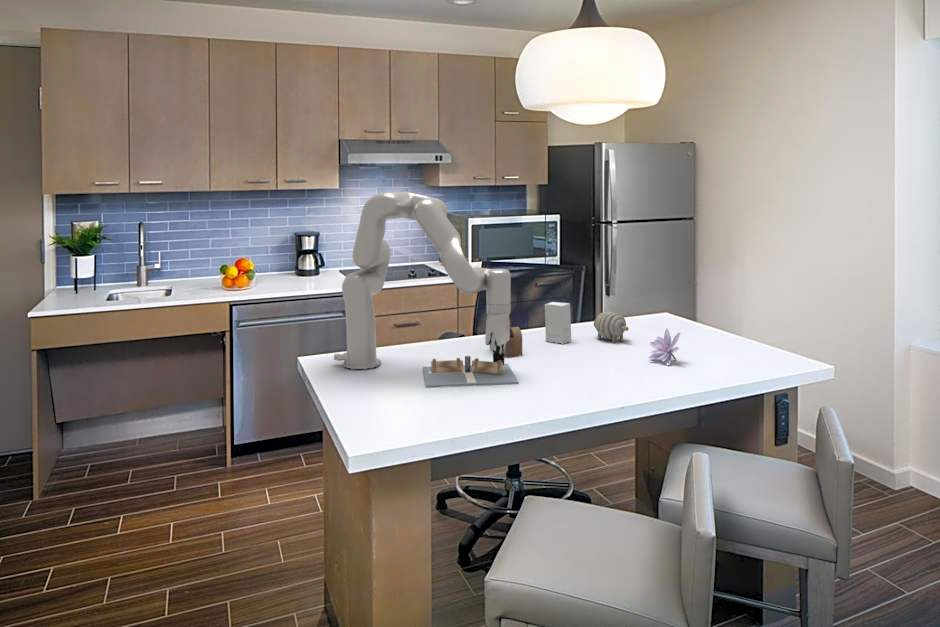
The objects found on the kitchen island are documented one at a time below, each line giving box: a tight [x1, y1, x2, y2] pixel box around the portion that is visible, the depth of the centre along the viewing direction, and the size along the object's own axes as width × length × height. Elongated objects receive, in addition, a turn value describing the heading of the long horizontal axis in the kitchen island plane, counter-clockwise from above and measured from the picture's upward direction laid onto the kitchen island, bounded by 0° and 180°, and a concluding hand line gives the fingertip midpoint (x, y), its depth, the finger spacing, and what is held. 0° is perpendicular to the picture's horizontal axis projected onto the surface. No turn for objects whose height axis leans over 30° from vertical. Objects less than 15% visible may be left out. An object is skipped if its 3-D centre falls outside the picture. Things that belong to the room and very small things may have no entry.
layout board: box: [422, 363, 520, 388], centre depth 226 cm, size 28×22×1 cm
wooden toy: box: [489, 318, 523, 358], centre depth 254 cm, size 16×7×25 cm, turn 24°
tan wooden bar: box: [471, 357, 503, 374], centre depth 226 cm, size 10×1×4 cm, turn 70°
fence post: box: [464, 355, 472, 372], centre depth 228 cm, size 2×2×6 cm
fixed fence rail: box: [430, 357, 464, 372], centre depth 228 cm, size 10×1×4 cm, turn 96°
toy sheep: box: [593, 311, 630, 343], centre depth 272 cm, size 11×17×11 cm, turn 39°
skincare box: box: [544, 301, 572, 345], centre depth 270 cm, size 8×6×15 cm
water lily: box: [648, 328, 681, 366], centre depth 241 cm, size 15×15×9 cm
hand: (498, 365), depth 227 cm, fingers closed
